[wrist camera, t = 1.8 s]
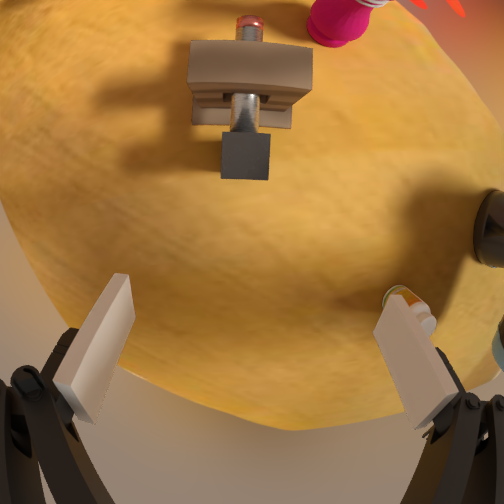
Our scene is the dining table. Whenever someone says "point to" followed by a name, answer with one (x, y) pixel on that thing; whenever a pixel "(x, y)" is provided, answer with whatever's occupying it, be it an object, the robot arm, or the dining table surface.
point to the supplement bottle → (414, 307)
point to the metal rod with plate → (246, 122)
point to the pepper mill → (340, 20)
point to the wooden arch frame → (247, 79)
